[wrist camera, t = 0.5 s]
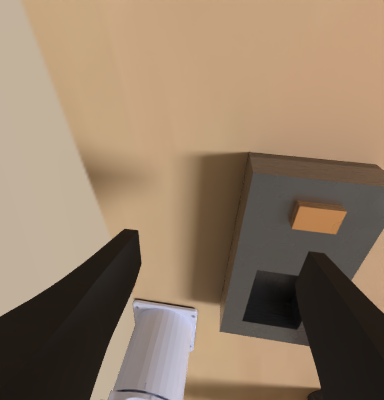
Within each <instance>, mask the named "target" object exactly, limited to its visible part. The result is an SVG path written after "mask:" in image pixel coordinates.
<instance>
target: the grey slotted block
mask: <svg viewBox="0 0 384 400" xmlns="http://www.w3.org/2000/svg"><path fill="white" fill-rule="evenodd" d="M383 229H384V170H382V169H381V168H380V167H379V166H377V165H374V164H364V163H354V162H343V161H333V160H323V159H313V158H303V157H293V156H282V155H272V154H262V153H252V152H249V156H248V161H247V166H246V171H245V176H244V182H243V187H242V192H241V197H240V202H239V208H238V213H237V218H236V223H235V228H234V234H233V239H232V244H231V249H230V254H229V260H228V265H227V270H226V275H225V280H224V286H223V291H222V296H221V305H220V332H226V333H232V334H238V335H244V336H250V337H256V338H263V339H269V340H275V341H281V342H287V343H293V344H299V345H306V346H310V345H309V342H308V338H307V335H306V332H305V328H304V325H303V321H302V318H301V315H300V311H299V307H298V301H297V295H296V288H295V283H296V280H297V278H298V276H299V273H300V271H301V268H302V266H303V264H304V261H305V259H306V256H307V254H308V252H309V251H311V252H320V253H325V254H326V255H327V256H328V257H329V258H330V259H331V260H332V261H333V262H334V264H335V265H336V266H337V267H338V268H339V269H340V270H341V271H342V272H343V273H344V274H345V275H346V276H347V277H348V278H349V279H350V280H352V278H353V277H354V275H355V273H356V272H357V270H358V269H359V267H360V265H361V264H362V262H363V261H364V259H365V257H366V256H367V254H368V253H369V251H370V249H371V248H372V246H373V245H374V243H375V241H376V240H377V238H378V237H379V235H380V233H381V232H382V230H383Z"/></svg>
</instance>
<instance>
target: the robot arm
mask: <svg viewBox="0 0 384 400" xmlns="http://www.w3.org/2000/svg"><path fill="white" fill-rule="evenodd" d="M140 267H141V254H140V244H139V234H138V230H130V229H124V230H123V231H121V232H120V233H119V234H118V235H117V236H115V237H114V238H113V239H112V240H111V241H110V242H108V243H107V244H106V245H105V246H104V247H102V248H101V249H100V250H99V251H98V252H96V253H95V254H94V255H93V256H92V257H90V258H89V259H88V260H87V261H85V262H84V263H83V264H82V265H80V266H79V267H77V268H76V269H75V270H73V271H72V272H71V273H69V274H68V275H67V276H65V277H64V278H63V279H61V280H60V281H58V282H57V283H55V284H54V285H52V286H51V287H49V288H48V289H46V290H45V291H43V292H42V293H40V294H38V295H37V296H35V297H34V298H32V299H30V300H29V301H27V302H25V303H23V304H22V305H20V306H18V307H16V308H15V309H13V310H11V311H9V312H8V313H6V314H4V315H2V316H1V317H0V400H90V397H91V394H92V391H93V388H94V385H95V382H96V379H97V376H98V373H99V370H100V367H101V364H102V361H103V359H104V356H105V353H106V350H107V347H108V345H109V342H110V339H111V337H112V335H113V332H114V330H115V328H116V326H117V324H118V321H119V319H120V317H121V315H122V313H123V310H124V308H125V306H126V304H127V302H128V299H129V297H130V295H131V293H132V290H133V288H134V286H135V283H136V280H137V277H138V273H139V270H140ZM295 288H296V295H297V301H298V307H299V311H300V315H301V318H302V321H303V325H304V328H305V332H306V335H307V338H308V342H309V345H310V349H311V352H312V355H313V359H314V362H315V365H316V369H317V373H318V377H319V380H320V385H321V390H322V395H323V400H384V313H383V312H382V311H380V310H379V309H378V308H377V307H376V306H375V305H374V304H373V303H372V302H371V301H370V300H369V299H368V298H367V297H366V296H365V295H364V294H363V293H362V292H361V291H360V290H359V289H358V288H357V287H356V286H355V284H354V283H353V282H352V281H351V280H350V279H349V278H348V277H347V276H346V275H345V274H344V273H343V272H342V271H341V270H340V269H339V268H338V267H337V266H336V265H335V264H334V262H333V261H332V260H331V259H330V258H329V257H328V256H327V255H326V254H325V253H320V252H311V251H309V252H308V254H307V256H306V259H305V261H304V264H303V266H302V268H301V271H300V273H299V276H298V278H297V280H296V283H295ZM133 310H134V318H135V328H134V331H133V334H132V336H131V339H130V342H129V345H128V348H127V351H126V354H125V357H124V360H123V363H122V365H121V368H120V371H119V374H118V377H117V380H116V383H115V386H114V389H113V391H112V390H111V392H110V394H109V397H108V400H183V396H184V388H185V381H186V373H187V366H188V358H189V351H193V348H194V339H195V330H196V321H197V310H196V309H192V308H186V307H179V306H173V305H167V304H160V303H154V302H147V301H141V300H134V301H133Z"/></svg>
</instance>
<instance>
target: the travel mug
mask: <svg viewBox="0 0 384 400" xmlns="http://www.w3.org/2000/svg"><path fill="white" fill-rule="evenodd" d="M308 400H323V395H322V390H320V391H316V392H313V393H311V394H310V395H309V396H308Z"/></svg>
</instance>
